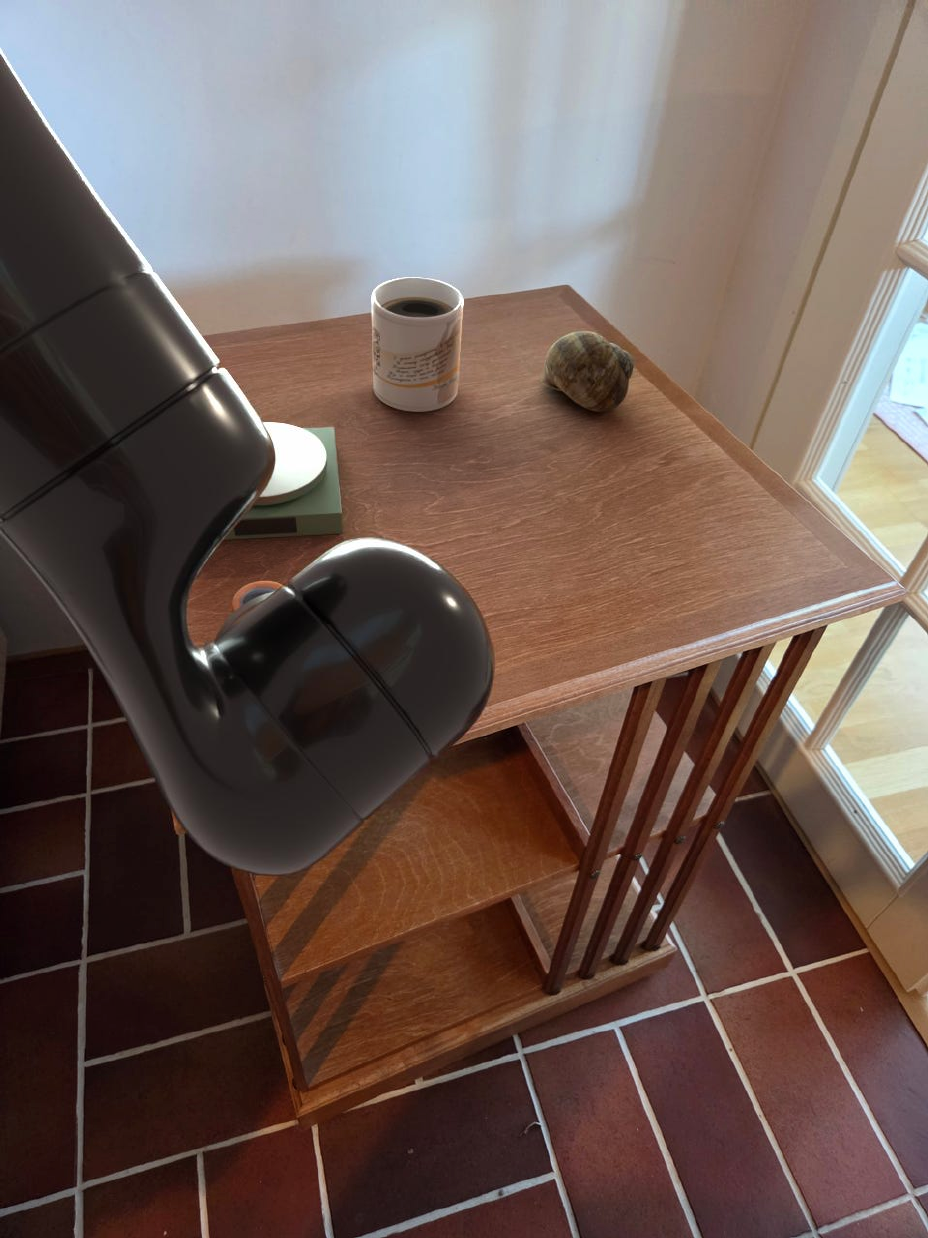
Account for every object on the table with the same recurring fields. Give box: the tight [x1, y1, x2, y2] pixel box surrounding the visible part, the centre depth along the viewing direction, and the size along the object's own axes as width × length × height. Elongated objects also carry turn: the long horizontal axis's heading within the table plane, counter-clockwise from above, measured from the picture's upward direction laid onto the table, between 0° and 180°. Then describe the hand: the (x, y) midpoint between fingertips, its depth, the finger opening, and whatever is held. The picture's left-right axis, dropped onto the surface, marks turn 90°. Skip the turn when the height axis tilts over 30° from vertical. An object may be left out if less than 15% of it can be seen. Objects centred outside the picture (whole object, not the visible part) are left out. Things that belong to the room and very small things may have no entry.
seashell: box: [540, 330, 636, 412], centre depth 94 cm, size 11×9×8 cm
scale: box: [223, 421, 344, 541], centre depth 80 cm, size 14×14×4 cm
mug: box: [371, 277, 464, 413], centre depth 93 cm, size 10×12×11 cm
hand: (272, 652), depth 56 cm, fingers open, 8 cm apart
